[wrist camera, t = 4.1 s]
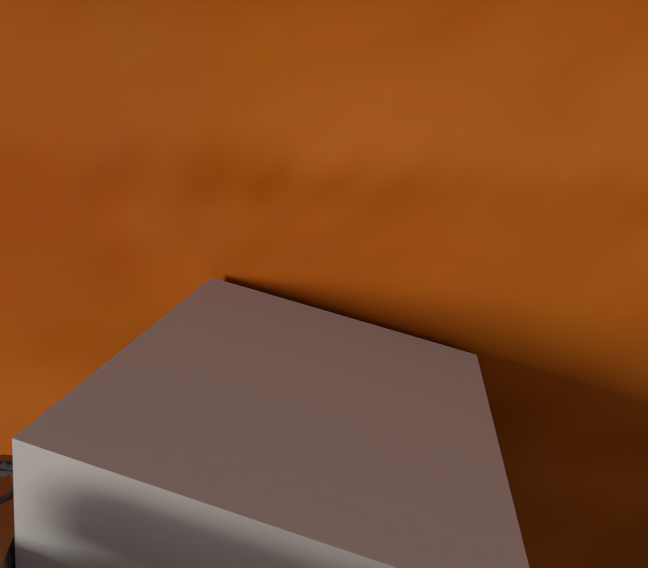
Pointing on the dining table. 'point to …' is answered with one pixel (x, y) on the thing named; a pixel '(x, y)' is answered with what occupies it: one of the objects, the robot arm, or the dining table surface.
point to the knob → (267, 449)
